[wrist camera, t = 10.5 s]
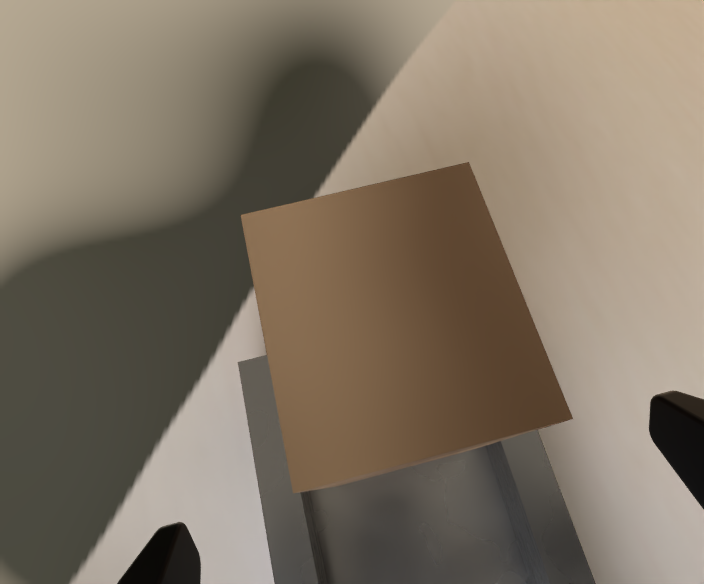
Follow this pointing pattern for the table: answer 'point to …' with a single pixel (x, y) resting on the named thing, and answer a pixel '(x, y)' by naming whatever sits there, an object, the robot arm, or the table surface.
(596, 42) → the table surface
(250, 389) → the gray rectangular tray
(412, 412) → the wooden tall block
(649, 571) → the table surface
